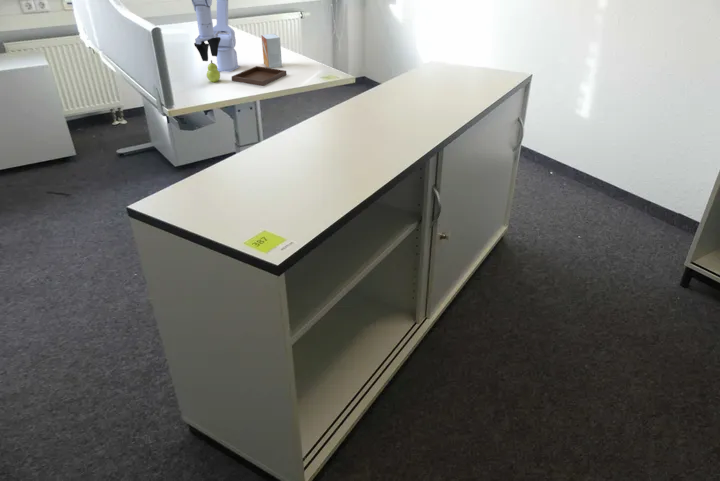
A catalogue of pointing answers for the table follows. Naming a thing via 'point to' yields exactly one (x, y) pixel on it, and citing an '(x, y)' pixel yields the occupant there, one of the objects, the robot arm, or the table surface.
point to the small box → (271, 50)
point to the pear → (213, 72)
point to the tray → (259, 75)
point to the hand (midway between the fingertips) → (210, 58)
